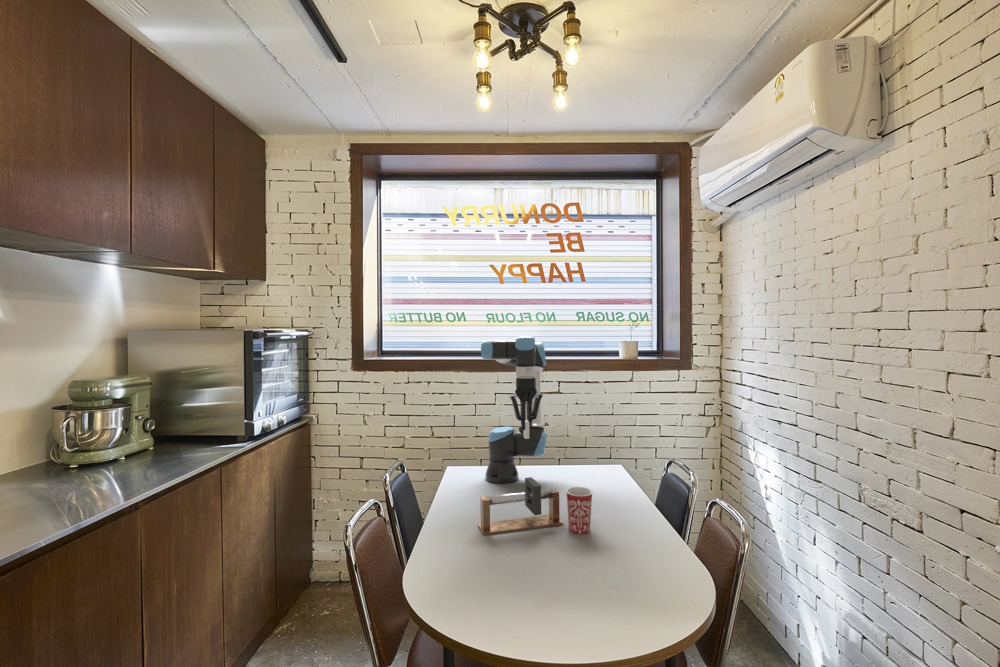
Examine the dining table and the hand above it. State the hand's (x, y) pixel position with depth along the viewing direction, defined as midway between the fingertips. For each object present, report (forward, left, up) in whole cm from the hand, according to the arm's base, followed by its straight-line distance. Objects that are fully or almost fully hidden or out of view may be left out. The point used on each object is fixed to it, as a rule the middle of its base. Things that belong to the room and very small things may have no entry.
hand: (526, 437), depth 183 cm
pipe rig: (+14, -7, -27) cm, 32 cm away
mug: (+22, +12, -28) cm, 37 cm away
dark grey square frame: (+14, -3, -22) cm, 27 cm away
